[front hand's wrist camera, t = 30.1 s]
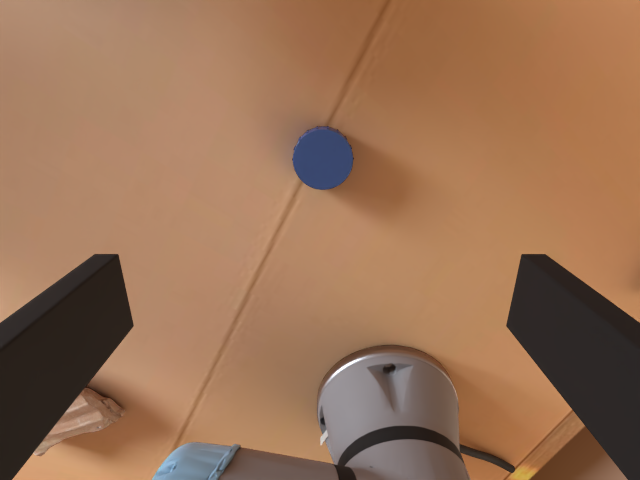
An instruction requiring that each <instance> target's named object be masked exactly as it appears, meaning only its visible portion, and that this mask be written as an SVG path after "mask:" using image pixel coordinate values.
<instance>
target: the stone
mask: <svg viewBox="0 0 640 480" xmlns="http://www.w3.org/2000/svg"><path fill="white" fill-rule="evenodd" d="M124 413H125V410H124V409H123V408H121V407H120V406H118V405H117V404H116V403H115V402H114V401H113V400H112V399H110V398H106V397H102V396H101V395H99V394H98V393H96V392H94V391H93V390H91V389H89V388H84V389H83V391H82V392H81V393H80V394H79V396H78V397H77V398H76V399H75V401H74V402H73V403H72V405H71V406H70V407H69V408H68V410H67V411H66V412H65V413H64V415H63V416H62V417H61V418H60V420H59V421H58V422H57V423H56V425H55V426H54V427H53V429H52V430H51V431H50V432H49V434H48V435H47V436H46V437H45V439H44V440H43V441H42V442H41V444H40V445H39V446H38V447H37V449H36V450H35V451H34V454H35V455H37V456H42V455H43V454H45V452H46V451H47V450H48V449H49V448H50V447H52V446H54V445H55V444H57V443H59V442H61V441H62V440H64V439H66V438H69V437H73V436H76V435H79V434H82V433H88V432H95V431H98V430H102V429H104V428H106V427H108V426H109V425H110V424H112V423H114V422H116V421H118V419H119V418H120V417H122V416H123V415H124Z"/></svg>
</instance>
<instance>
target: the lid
mask: <svg viewBox="0 0 640 480" xmlns="http://www.w3.org/2000/svg"><path fill="white" fill-rule="evenodd" d="M351 149H352V147H351V145H349V143H348V141H347V138H346V136H343V135H342V134H341V133H340V132H339V131H338V130H335V129H333V128H330V127H328V126H327V127H318V126H317V127H316V128H313V129H311V130H307V132H306V133H305V134H304V135H303V136H302V137H300V138H299V141H298V143H297V145H296V146H295V148H294V154H293V159H292V160H293V164H294V169H295V171H296V174H297V175H298V177H299V178H300V179H301V180H302V181H303V182H304V183H305V184H306V185H308V186H310V187H312V188H315V189H320V190H326V189H331V188H334V187H336V186H338V185H340V184H341V183H342V182H343V181H344V180H345V179H346V178H347V177H348V175H349V174H350V171H351V170H352V165H353V159H354V158H353V154H352V150H351Z"/></svg>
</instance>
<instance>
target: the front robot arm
mask: <svg viewBox="0 0 640 480" xmlns="http://www.w3.org/2000/svg"><path fill="white" fill-rule="evenodd" d="M133 326H134V325H133V320H132V316H131V311H130V307H129V302H128V297H127V293H126V288H125V283H124V279H123V274H122V269H121V265H120V260H119V255H118V254H94V255H93V256H92V257H90V258H89V259H88V260H86V261H85V262H83V263H82V264H81V265H79V266H78V267H77V268H75V269H74V270H72V271H71V272H70V273H68V274H67V275H66V276H64V277H63V278H61V279H60V280H59V281H57V282H56V283H55V284H53V285H52V286H50V287H49V288H48V289H46V290H45V291H43V292H42V293H41V294H39V295H38V296H37V297H35V298H34V299H32V300H31V301H30V302H28V303H27V304H26V305H24V306H23V307H21V308H20V309H19V310H17V311H16V312H15V313H13V314H12V315H10V316H9V317H8V318H6V319H5V320H4V321H2V322H1V323H0V480H12V479H13V478H14V477H15V475H16V474H17V473H18V471H19V470H20V469H21V468H22V466H23V465H24V464H25V463H26V461H27V460H28V459H29V458H30V456H31V455H32V454H33V453H34V451H35V450H36V449H37V447H38V446H39V445H40V444H41V442H42V441H43V440H44V439H45V437H46V436H47V435H48V434H49V432H50V431H51V430H52V429H53V427H54V426H55V425H56V423H57V422H58V421H59V420H60V418H61V417H62V416H63V415H64V413H65V412H66V411H67V410H68V408H69V407H70V406H71V405H72V403H73V402H74V401H75V399H76V398H77V397H78V396H79V394H80V393H81V392H82V391H83V389H84V388H85V387H86V386H87V384H88V383H89V382H90V381H91V379H92V378H93V377H94V375H95V374H96V373H97V372H98V370H99V369H100V368H101V367H102V365H103V364H104V363H105V362H106V360H107V359H108V358H109V356H110V355H111V354H112V353H113V351H114V350H115V349H116V348H117V346H118V345H119V344H120V343H121V341H122V340H123V339H124V338H125V336H126V335H127V334H128V332H129V331H130V330H131V329H132V327H133ZM506 326H507V327H508V329H509V330H510V331H511V332H512V334H513V335H514V336H515V338H516V339H517V340H518V341H519V343H520V344H521V345H522V346H523V348H524V349H525V350H526V351H527V353H528V354H529V355H530V356H531V358H532V359H533V360H534V362H535V363H536V364H537V365H538V367H539V368H540V369H541V370H542V372H543V373H544V374H545V375H546V377H547V378H548V379H549V381H550V382H551V383H552V384H553V386H554V387H555V388H556V389H557V391H558V392H559V393H560V394H561V396H562V397H563V398H564V399H565V401H566V402H567V403H568V405H569V406H570V407H571V408H572V410H573V411H574V412H575V413H576V415H577V416H578V417H579V418H580V420H581V421H582V422H583V423H584V425H585V426H586V427H587V428H588V430H589V431H590V432H591V434H592V435H593V436H594V437H595V439H596V440H597V441H598V442H599V444H600V445H601V446H602V447H603V449H604V450H605V451H606V453H607V454H608V455H609V456H610V458H611V459H612V460H613V461H614V463H615V464H616V465H617V466H618V468H619V469H620V470H621V471H622V473H623V474H624V475H625V477H626V478H627V479H628V480H640V323H639V322H638V321H636V320H635V319H634V318H632V317H631V316H630V315H628V314H627V313H625V312H624V311H623V310H621V309H620V308H619V307H617V306H616V305H614V304H613V303H612V302H610V301H609V300H608V299H606V298H605V297H603V296H602V295H601V294H599V293H598V292H596V291H595V290H594V289H592V288H591V287H590V286H588V285H587V284H585V283H584V282H583V281H581V280H580V279H579V278H577V277H576V276H574V275H573V274H572V273H570V272H569V271H568V270H566V269H565V268H563V267H562V266H561V265H559V264H558V263H557V262H555V261H554V260H552V259H551V258H550V257H548V256H547V255H546V254H522V255H521V260H520V265H519V269H518V274H517V279H516V283H515V288H514V293H513V297H512V302H511V306H510V311H509V316H508V320H507V325H506ZM458 412H459V406H458V398H457V393H456V391H455V388H454V386H453V383H452V381H451V379H450V377H449V375H448V373H447V372H446V370H445V369H444V368H443V366H442V365H441V364H440V363H439V362H438V361H436V360H435V359H434V358H432V357H431V356H429V355H427V354H426V353H423V352H421V351H419V350H416V349H413V348H409V347H404V346H395V345H384V346H375V347H370V348H366V349H363V350H360V351H357V352H355V353H352V354H350V355H348V356H347V357H345V358H343V359H342V360H340V361H339V362H338V363H337V364H335V365H334V366H333V367H332V368H331V369H330V370H329V372H328V373H327V374H326V375H325V377H324V379H323V380H322V382H321V385H320V387H319V391H318V397H317V417H318V422H319V425H320V429H321V431H322V434H323V435H322V436H321V445H322V443H323V442H324V441H325V442H326V444H327V447H328V449H329V452H330V455H331V457H332V460H333V462H334V464H331V463H325V462H320V461H314V460H308V459H303V458H297V457H292V456H286V455H280V454H275V453H269V452H264V451H258V450H252V449H247V448H241V447H240V445H237V444H234V445H232V446H225V445H217V444H208V443H200V442H191V443H187V444H184V445H182V446H180V447H178V448H177V449H176V450H174V451H173V452H172V453H171V454H170V455H169V456H168V457H167V458H166V460H165V461H164V462H163V463H162V465H161V466H160V468H159V469H158V471H157V472H156V474H155V475H154V477H153V479H152V480H471V479H470V477H469V474H468V471H467V469H466V467H465V464H464V461H463V459H462V456H461V453H463V454H466V455H469V456H472V457H475V458H479V459H482V460H485V461H488V462H491V463H493V464H496V465H498V466H500V467H502V468H503V469H505V470H507V471H509V472H511V473H513V472H514V471H515V468H514V466H513V465H511V464H509V463H507V462H505V461H504V460H502V459H500V458H498V457H495V456H493V455H491V454H488V453H485V452H482V451H479V450H475V449H472V448H469V447H467V446H464V445H461V444H459V420H458Z"/></svg>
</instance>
